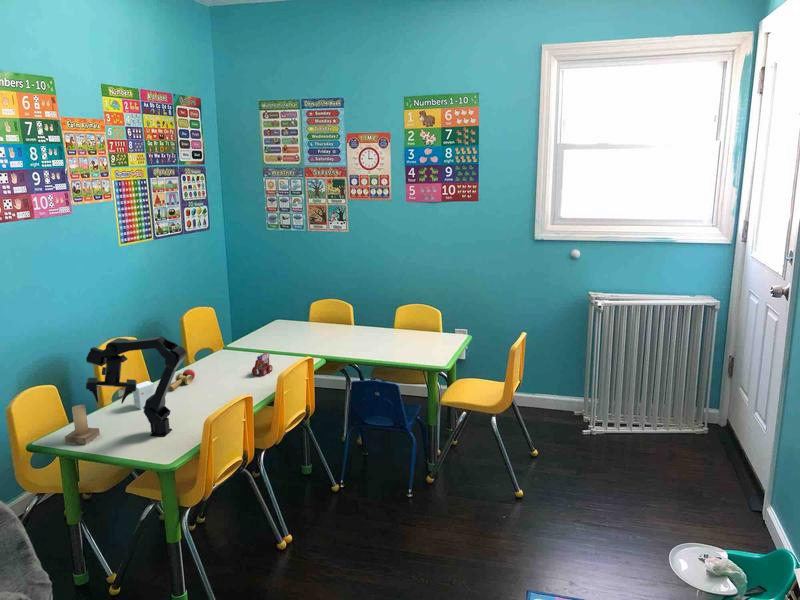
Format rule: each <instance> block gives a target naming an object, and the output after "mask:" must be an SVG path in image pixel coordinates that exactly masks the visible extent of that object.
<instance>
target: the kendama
mask: <svg viewBox="0 0 800 600" xmlns="http://www.w3.org/2000/svg"><path fill="white" fill-rule="evenodd" d="M195 374H196V372H195V371H194V370H192V369H189V368H188V369H185V370H184V371H183V372H182V373H181V372H178V373H177V374H176V375H175V382H174V383H171V384H170V386H169V389H168V391H169V392H174V391H175V389H177V387H179V386H180V385H181V383H182V382H184V383H185V385H188V386H189V385H190V384H192V381H193V380H194V379H195V376H196V375H195Z"/></svg>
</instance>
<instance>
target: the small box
mask: <svg viewBox="0 0 800 600" xmlns="http://www.w3.org/2000/svg"><path fill="white" fill-rule="evenodd" d="M155 391H156V388H155V383H154V382H152V381H149V380H146V381H143V382H140V383H137V384H136V391H132V395H133V403H134V408H136V407H137V409H138V408H139V409H138V410H140V409H142V410H144V408H143V407H144V406H145V403H146V400H147V399H148V398H149V397H151V396H152V395H154V394H155Z"/></svg>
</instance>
